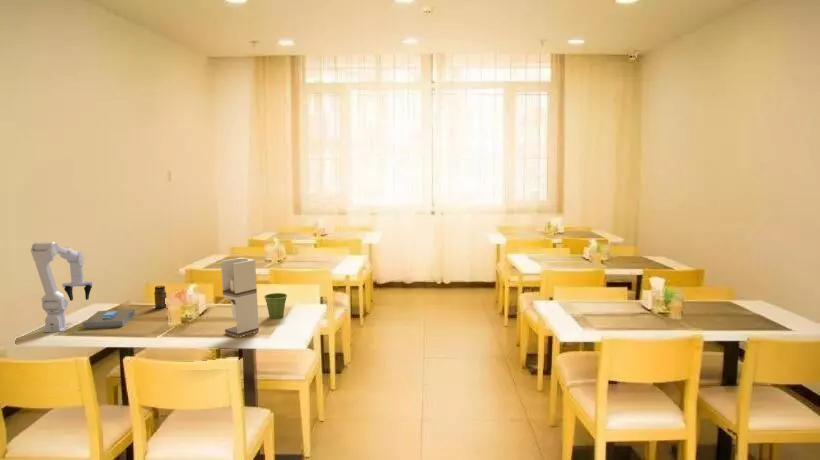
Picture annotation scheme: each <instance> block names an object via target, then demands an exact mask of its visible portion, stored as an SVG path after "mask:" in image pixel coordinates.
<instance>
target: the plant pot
mask: <svg viewBox="0 0 820 460" xmlns="http://www.w3.org/2000/svg"><path fill="white" fill-rule="evenodd" d="M287 297H288V294H287V293H282V292H275V293H268V294H265V295H264V296H263V298H264V301H265V303H266V306H267V307H266V308H267V312H268V317H269V318H270V319H281V318H283V317H284V314H285V307H286V302H287Z"/></svg>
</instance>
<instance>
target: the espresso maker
mask: <svg viewBox="0 0 820 460" xmlns="http://www.w3.org/2000/svg"><path fill="white" fill-rule="evenodd" d="M220 268H221V271H220V272H221V285H222V286H221V287H222V289H221V290H222V298H225V299H229V300H230V303H231V315H232V318H233V319H235V320H236V326H232V327H229V328H226V329H225V330H224V334H225V333H227V334H226V335H228V334H230V335H229V336H231V335H234V336H237V337H240V336H243V335H247V334H250V333H253V334H255V333H254V332H257V331H259V329H260V327H259V311H258V293H257V292H258V291H257V289H258V287H257V271H256V269H257V268H256V259H251V258H246V257H237V258H233V259H232V258H231V259H226V260H220ZM259 332H260V331H259ZM257 333H258V332H257ZM250 335H251V334H250ZM234 336H233V337H234ZM247 336H248V335H247ZM237 337H236V338H237ZM243 337H244V336H243ZM240 338H241V337H240Z"/></svg>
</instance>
